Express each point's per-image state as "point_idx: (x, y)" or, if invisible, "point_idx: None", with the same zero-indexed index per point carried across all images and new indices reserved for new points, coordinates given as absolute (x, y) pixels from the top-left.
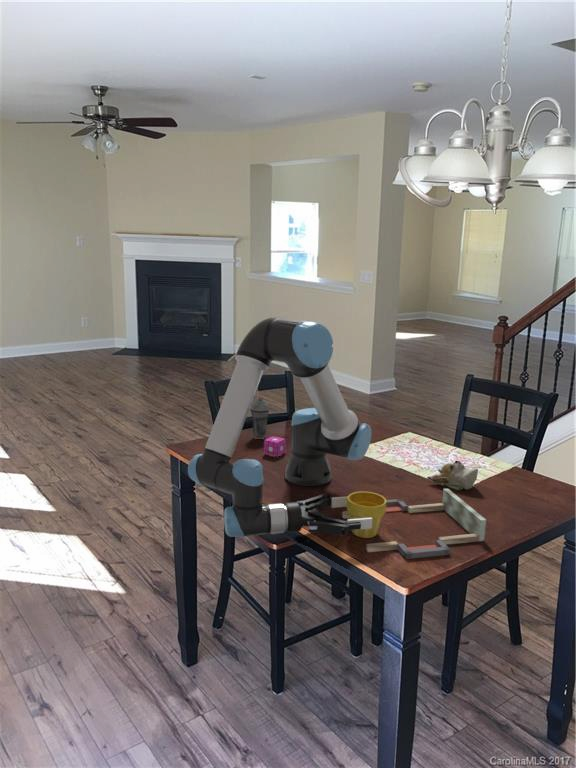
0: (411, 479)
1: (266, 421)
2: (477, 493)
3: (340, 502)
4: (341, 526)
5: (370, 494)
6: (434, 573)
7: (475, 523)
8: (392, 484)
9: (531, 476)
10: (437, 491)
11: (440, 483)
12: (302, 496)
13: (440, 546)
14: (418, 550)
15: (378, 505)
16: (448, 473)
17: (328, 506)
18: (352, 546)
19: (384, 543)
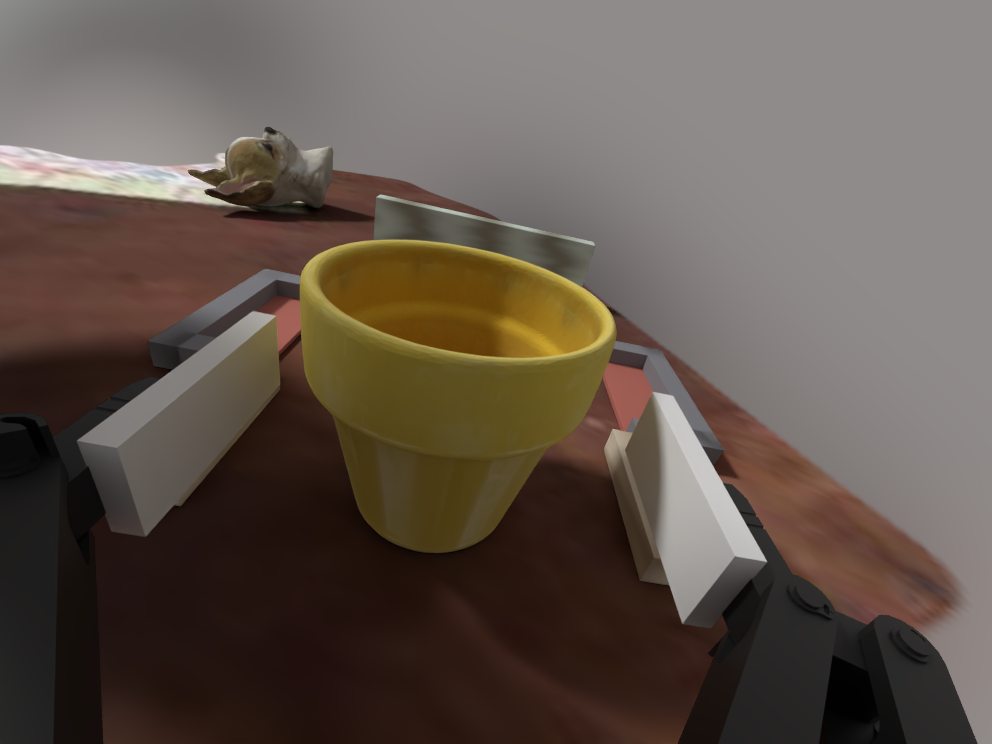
0: (142, 210)
1: None
2: (347, 212)
3: (204, 424)
4: (965, 719)
5: (374, 257)
6: (791, 447)
7: (564, 261)
8: (106, 236)
9: (340, 173)
10: (275, 225)
11: (254, 203)
12: None
13: (635, 357)
14: (685, 408)
15: (436, 308)
16: (269, 167)
17: (93, 559)
18: (598, 648)
19: None
